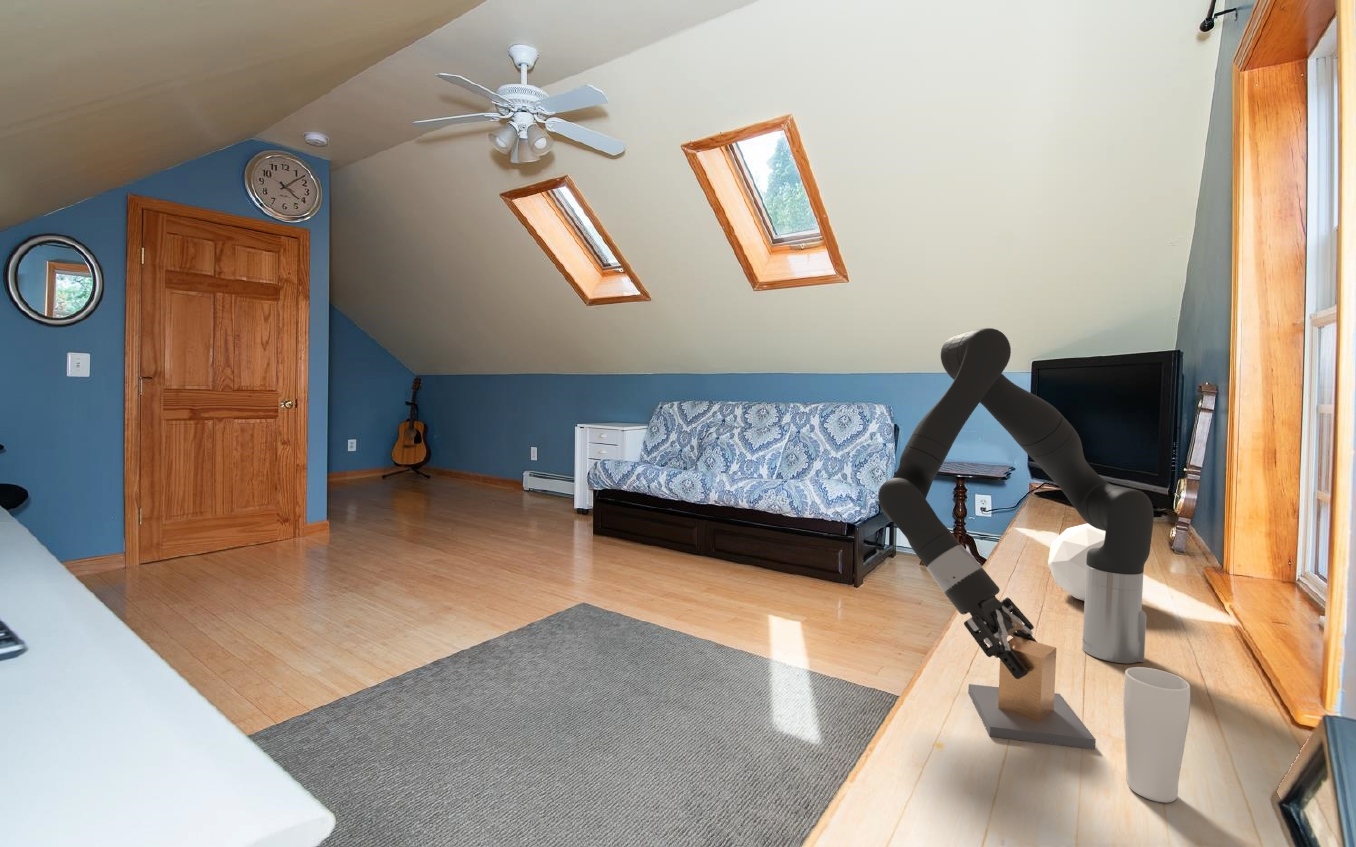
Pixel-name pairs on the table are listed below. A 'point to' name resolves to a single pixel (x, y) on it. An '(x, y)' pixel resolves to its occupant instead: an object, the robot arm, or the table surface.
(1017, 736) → the post base
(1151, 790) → the drinking glass
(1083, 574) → the geometric orb
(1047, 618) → the table surface
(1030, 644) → the wooden block
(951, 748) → the table surface
